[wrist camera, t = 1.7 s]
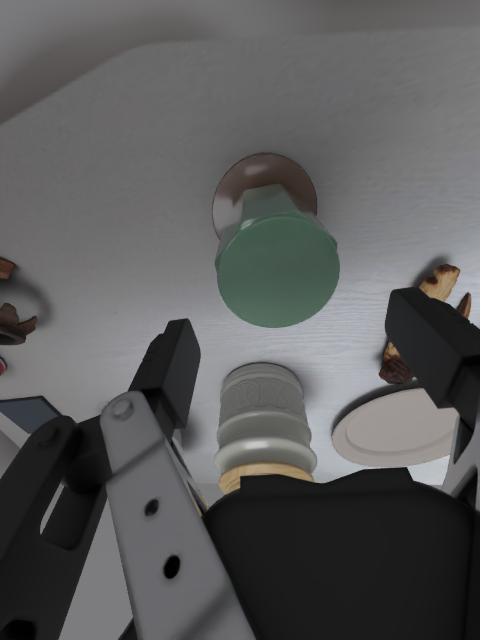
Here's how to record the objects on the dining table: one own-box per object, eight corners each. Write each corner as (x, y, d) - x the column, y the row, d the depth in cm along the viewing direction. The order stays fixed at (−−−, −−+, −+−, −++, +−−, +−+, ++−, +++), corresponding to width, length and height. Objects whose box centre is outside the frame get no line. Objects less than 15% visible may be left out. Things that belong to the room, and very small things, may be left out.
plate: (329, 387, 41) (332, 398, 39) (507, 368, 37) (519, 379, 35) (329, 461, 55) (331, 471, 54) (456, 452, 52) (463, 462, 50)
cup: (219, 195, 19) (202, 231, 12) (305, 177, 18) (343, 204, 11) (236, 271, 23) (230, 334, 15) (307, 259, 22) (337, 320, 15)
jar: (219, 360, 37) (202, 497, 23) (306, 361, 37) (343, 501, 23) (223, 411, 45) (212, 538, 31) (295, 412, 45) (317, 541, 31)
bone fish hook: (422, 368, 38) (496, 256, 27) (443, 394, 34) (538, 277, 23) (361, 369, 38) (410, 257, 27) (375, 395, 34) (438, 278, 23)
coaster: (-7, 401, 45) (-10, 404, 44) (41, 395, 44) (39, 398, 43) (30, 431, 51) (28, 433, 50) (74, 427, 49) (72, 430, 49)
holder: (201, 166, 23) (156, 194, 11) (313, 141, 21) (387, 145, 10) (225, 266, 28) (211, 352, 17) (315, 252, 27) (362, 333, 16)
